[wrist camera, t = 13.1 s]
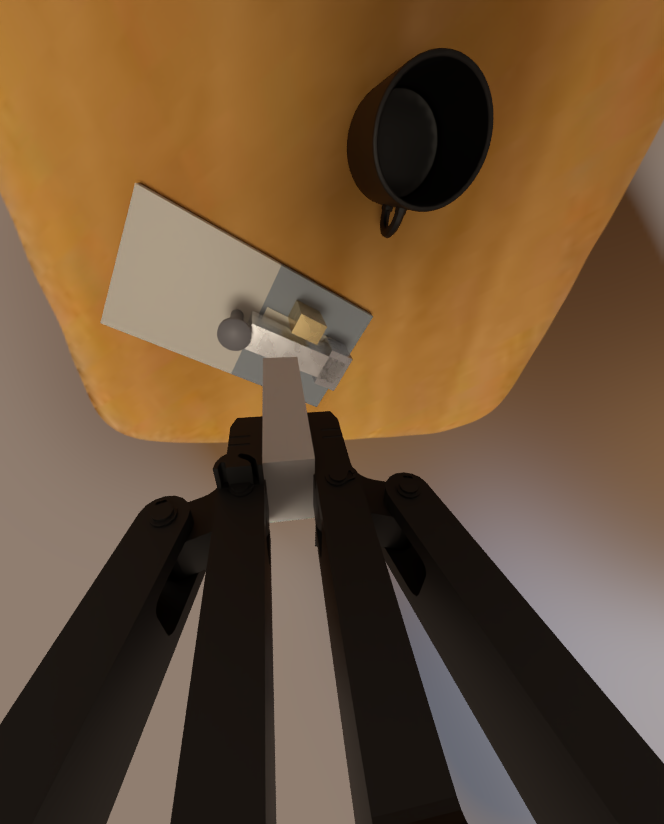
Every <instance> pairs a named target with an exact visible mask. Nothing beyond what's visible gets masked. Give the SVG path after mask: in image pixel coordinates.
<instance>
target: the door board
mask: <svg viewBox="0 0 664 824" xmlns="http://www.w3.org/2000/svg"><path fill="white" fill-rule="evenodd" d="M296 300H299V301H301V302H302V303H304V304H306V305H308V306H310V307H312V308H314V309H316V310H318V311H320V313H321V315H322V317H323V319H324V321H325V323H326V325H327V328H326V330H325V332H324V334H323V335H322V337H321V339H320V341H321V342H324V340H325V338H326V337H328V338H330V339H333V340H335V341H337V342H339V343H341V344H344V345H345V346H346V348H347V350H348V352H349V354H350V353H351V351H352V350H353V348H354V346H355V345H356V343H357V342H358V340H359V338H360V337H361V335H362V334H363V332H364V330H365V329H366V327H367V326H368V324H369V322H370V321H371V319H372V318H373V316H372V315H371V314H370V313H368V312H367V311H365V310H363V309H361V308H360V307H358V306H356V305H354V304H353V303H351V302H349V301H347V300H345V299H344V298H342V297H340V296H338V295H337V294H335V293H333V292H331V291H330V290H328V289H326V288H324V287H322V286H321V285H319V284H317V283H315V282H314V281H312V280H310V279H308V278H307V277H305V276H303V275H301V274H299V273H298V272H296V271H294V270H292V269H291V268H289V267H287V266H285V265H283V264H282V263H280V262H278V261H276V260H275V259H273V258H271V257H269V256H268V255H266V254H264V253H262V252H260V251H259V250H257V249H255V248H253V247H252V246H250V245H248V244H246V243H245V242H243V241H241V240H239V239H237V238H236V237H234V236H232V235H230V234H229V233H227V232H225V231H223V230H222V229H220V228H218V227H216V226H214V225H213V224H211V223H209V222H207V221H206V220H204V219H202V218H200V217H198V216H197V215H195V214H193V213H191V212H190V211H188V210H186V209H184V208H183V207H181V206H179V205H177V204H175V203H174V202H172V201H170V200H168V199H167V198H165V197H163V196H161V195H160V194H158V193H156V192H154V191H152V190H151V189H149V188H147V187H145V186H144V185H142V184H140V183H135V186H134V190H133V194H132V198H131V202H130V206H129V210H128V214H127V218H126V222H125V226H124V230H123V234H122V238H121V242H120V246H119V250H118V254H117V258H116V262H115V267H114V271H113V275H112V279H111V283H110V287H109V291H108V295H107V299H106V303H105V307H104V311H103V315H102V319H101V323H102V324H104V325H107V326H109V327H112V328H114V329H117V330H120V331H122V332H125V333H127V334H130V335H132V336H135V337H138V338H140V339H143V340H145V341H148V342H151V343H153V344H156V345H158V346H161V347H163V348H166V349H169V350H171V351H174V352H176V353H179V354H181V355H184V356H187V357H189V358H192V359H194V360H197V361H199V362H202V363H205V364H207V365H210V366H212V367H215V368H218V369H220V370H223V371H225V372H228V373H230V374H233V375H236V376H238V377H241V378H243V379H246V380H248V381H251V382H254V383H256V384H259V385H261V386H263V358H267V357H264V356H261V355H259V354H256V353H254V352H251V351H249V350H246V349H245V348H246V347H247V346H248V345H249V344H250V342H251V337H252V333H251V329H250V327H249V325H248V324H247V323H248V320H249V318H250V315H251V313H252V311H254V312H256V313H258V314H260V315H263V316H265V317H267V318H269V319H272V320H274V321H276V322H278V323H281V324H283V325H285V326H287V327H290V324H289V320H288V315H289V313H290V311H291V309H292V307H293V306H294V304H295V302H296ZM300 376H301V382H302V387H303V393H304V399H305V403H308V404H310V405H313V406H315V407H317V406H318V404H319V402H320V401H321V399H322V398H323V396H324V394H325V393H326V391H327V390H328V388H325V387H323V386H320V385H317V384H315V383H314V381H313V377H312V375H310V374H307V373H305V372H302V371H300Z"/></svg>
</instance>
